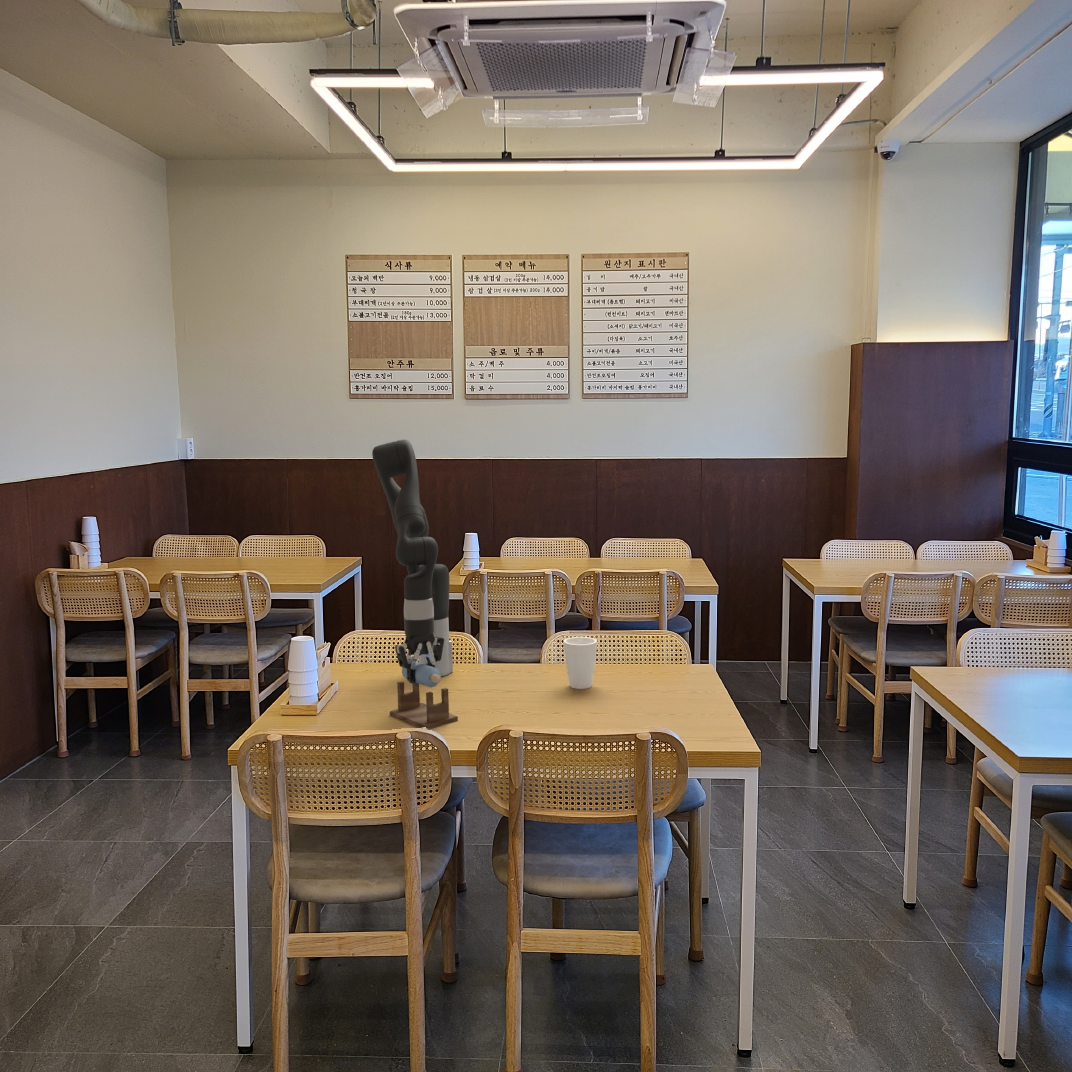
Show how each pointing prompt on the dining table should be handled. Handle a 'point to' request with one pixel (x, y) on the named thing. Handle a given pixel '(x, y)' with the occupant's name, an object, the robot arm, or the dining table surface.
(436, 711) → the roll holder
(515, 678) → the dining table surface
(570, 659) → the foam cup
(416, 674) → the towel roll
